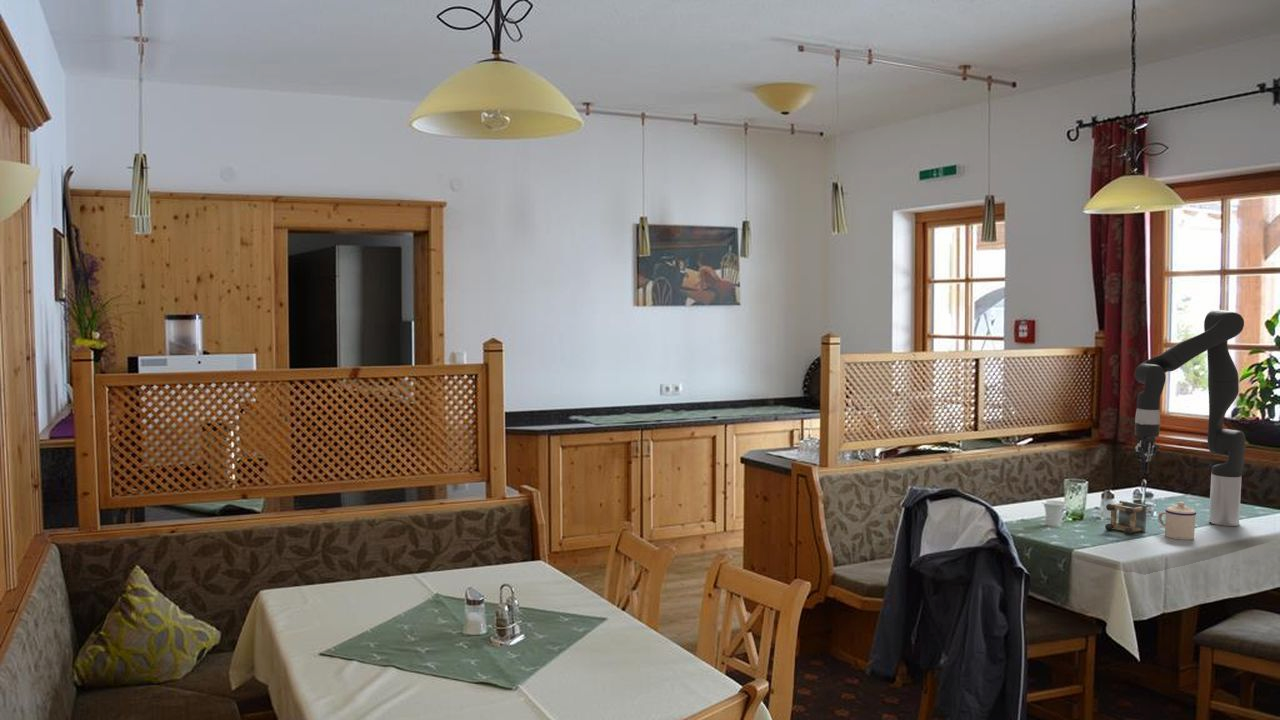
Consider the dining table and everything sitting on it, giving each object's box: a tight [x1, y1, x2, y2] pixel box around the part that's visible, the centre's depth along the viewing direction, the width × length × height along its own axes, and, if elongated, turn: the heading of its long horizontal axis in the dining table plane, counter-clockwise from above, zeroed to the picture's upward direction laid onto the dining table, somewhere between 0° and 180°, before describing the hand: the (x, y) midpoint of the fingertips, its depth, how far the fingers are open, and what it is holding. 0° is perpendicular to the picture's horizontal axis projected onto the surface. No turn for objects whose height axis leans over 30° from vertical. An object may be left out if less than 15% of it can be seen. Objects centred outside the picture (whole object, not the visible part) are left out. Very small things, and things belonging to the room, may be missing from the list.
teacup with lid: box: [1157, 501, 1197, 541], centre depth 340 cm, size 12×9×12 cm
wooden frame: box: [1104, 500, 1148, 535], centre depth 347 cm, size 9×9×9 cm
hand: (1144, 472), depth 352 cm, fingers closed
